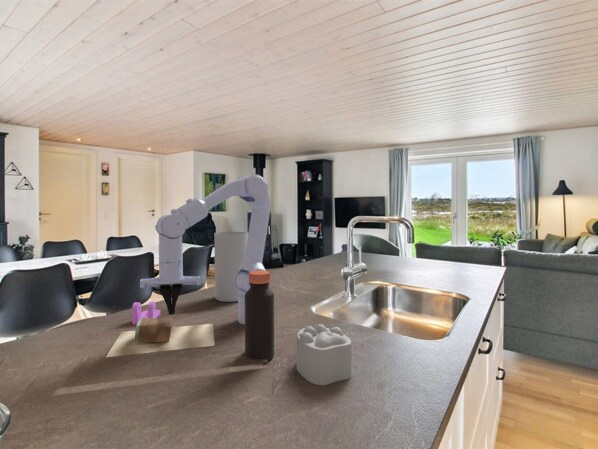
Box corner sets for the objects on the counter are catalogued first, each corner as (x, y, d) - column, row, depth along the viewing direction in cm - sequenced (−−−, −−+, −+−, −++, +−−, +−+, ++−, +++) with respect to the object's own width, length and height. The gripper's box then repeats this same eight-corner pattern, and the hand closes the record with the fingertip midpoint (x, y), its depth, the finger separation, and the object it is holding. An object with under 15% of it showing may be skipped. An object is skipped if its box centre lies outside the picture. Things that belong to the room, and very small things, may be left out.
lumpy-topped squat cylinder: (314, 388, 66) (314, 344, 66) (287, 360, 78) (287, 323, 77) (358, 376, 71) (358, 335, 70) (326, 352, 82) (326, 317, 82)
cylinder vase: (209, 297, 130) (208, 232, 129) (237, 292, 139) (236, 231, 137) (225, 304, 121) (225, 235, 120) (254, 298, 130) (254, 233, 128)
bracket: (153, 327, 99) (152, 303, 99) (132, 328, 98) (132, 304, 98) (161, 313, 112) (161, 292, 112) (143, 314, 111) (143, 293, 111)
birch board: (212, 327, 99) (212, 323, 99) (214, 349, 84) (214, 345, 84) (121, 335, 92) (121, 331, 92) (105, 361, 77) (105, 357, 77)
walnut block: (172, 319, 91) (140, 317, 89) (170, 326, 85) (136, 325, 83) (171, 333, 91) (138, 332, 89) (168, 342, 85) (134, 341, 83)
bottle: (250, 366, 75) (250, 276, 74) (241, 354, 81) (240, 271, 80) (278, 359, 78) (278, 273, 77) (267, 348, 84) (267, 268, 83)
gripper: (200, 257, 93) (200, 306, 94) (142, 260, 89) (143, 311, 90) (200, 262, 86) (200, 314, 87) (138, 264, 82) (139, 319, 83)
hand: (171, 313), depth 88 cm, fingers closed
